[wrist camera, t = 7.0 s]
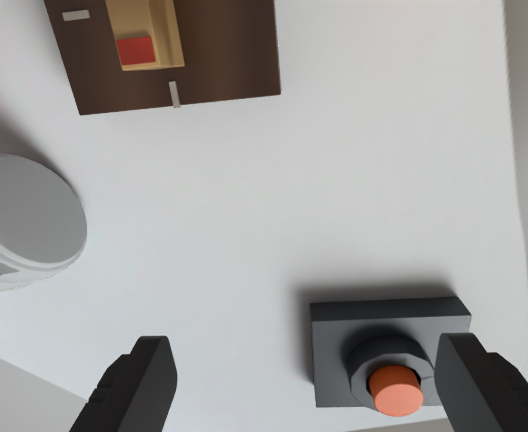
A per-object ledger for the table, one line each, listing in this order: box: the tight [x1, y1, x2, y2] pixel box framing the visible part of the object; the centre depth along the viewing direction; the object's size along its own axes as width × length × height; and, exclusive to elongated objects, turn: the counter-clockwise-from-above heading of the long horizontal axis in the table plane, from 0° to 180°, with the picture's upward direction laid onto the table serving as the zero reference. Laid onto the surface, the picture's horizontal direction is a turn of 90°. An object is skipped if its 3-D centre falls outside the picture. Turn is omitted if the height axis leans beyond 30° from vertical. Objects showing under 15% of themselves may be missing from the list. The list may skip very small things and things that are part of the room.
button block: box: [310, 297, 471, 412], centre depth 28 cm, size 12×10×4 cm
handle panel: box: [44, 0, 281, 115], centre depth 19 cm, size 12×10×3 cm
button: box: [369, 365, 424, 417], centre depth 26 cm, size 4×4×2 cm
